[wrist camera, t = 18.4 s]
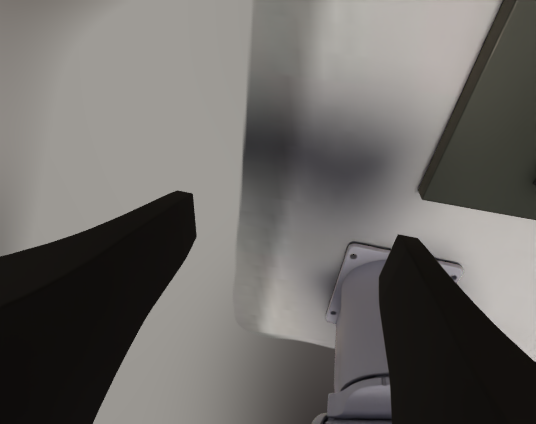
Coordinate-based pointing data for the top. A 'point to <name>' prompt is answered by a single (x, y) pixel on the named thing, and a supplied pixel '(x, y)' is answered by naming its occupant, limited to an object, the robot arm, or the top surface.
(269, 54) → the top surface
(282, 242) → the top surface
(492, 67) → the slate board
